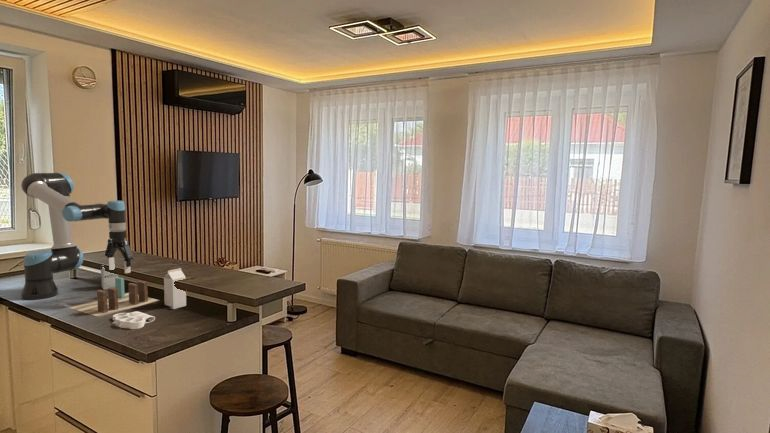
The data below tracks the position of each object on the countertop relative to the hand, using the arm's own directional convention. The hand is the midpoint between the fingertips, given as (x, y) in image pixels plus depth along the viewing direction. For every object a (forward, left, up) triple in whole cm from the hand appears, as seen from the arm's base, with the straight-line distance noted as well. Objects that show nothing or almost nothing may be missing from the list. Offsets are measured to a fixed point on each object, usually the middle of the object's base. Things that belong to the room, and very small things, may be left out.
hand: (119, 271), depth 228 cm
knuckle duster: (+38, -18, -16) cm, 45 cm away
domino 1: (+16, -18, -14) cm, 28 cm away
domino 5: (+16, +2, -14) cm, 21 cm away
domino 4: (+16, -3, -14) cm, 21 cm away
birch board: (+9, -8, -15) cm, 19 cm away
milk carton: (+34, +7, -15) cm, 38 cm away
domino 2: (+16, -13, -14) cm, 25 cm away
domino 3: (0, 0, -14) cm, 14 cm away
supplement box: (-26, +10, -15) cm, 32 cm away
